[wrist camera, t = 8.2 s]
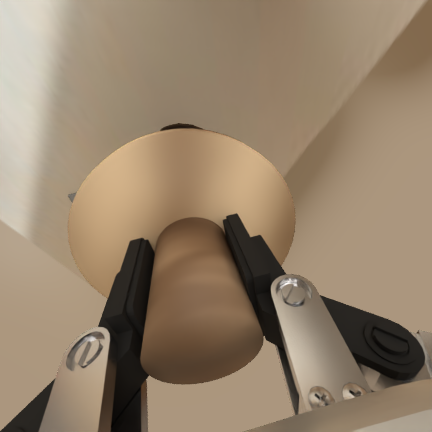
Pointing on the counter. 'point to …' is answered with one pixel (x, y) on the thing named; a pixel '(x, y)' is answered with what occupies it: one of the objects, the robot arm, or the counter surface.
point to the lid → (184, 243)
